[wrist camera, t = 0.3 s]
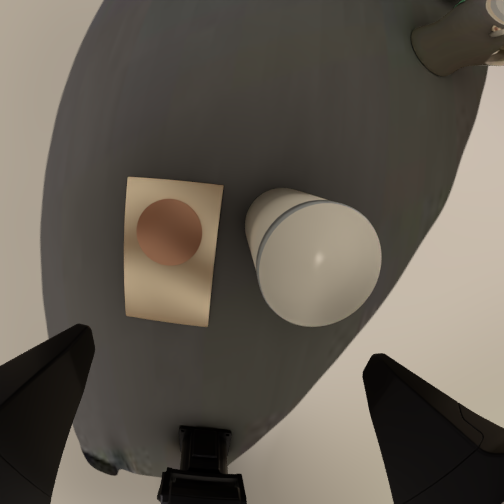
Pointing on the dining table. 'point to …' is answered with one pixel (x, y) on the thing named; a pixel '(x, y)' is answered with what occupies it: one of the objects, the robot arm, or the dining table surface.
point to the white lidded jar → (311, 256)
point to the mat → (170, 249)
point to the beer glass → (462, 37)
